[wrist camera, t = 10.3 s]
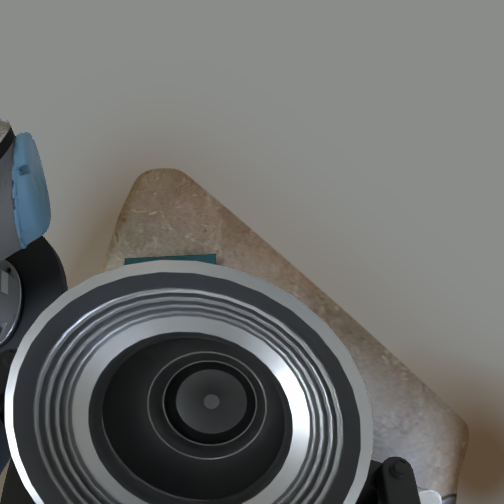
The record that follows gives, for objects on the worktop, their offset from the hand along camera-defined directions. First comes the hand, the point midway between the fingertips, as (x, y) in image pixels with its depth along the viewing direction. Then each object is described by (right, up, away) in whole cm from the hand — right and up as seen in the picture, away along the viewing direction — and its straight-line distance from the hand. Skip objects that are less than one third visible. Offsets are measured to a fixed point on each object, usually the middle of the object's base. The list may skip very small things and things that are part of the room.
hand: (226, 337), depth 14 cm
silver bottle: (-2, -7, +6) cm, 9 cm away
